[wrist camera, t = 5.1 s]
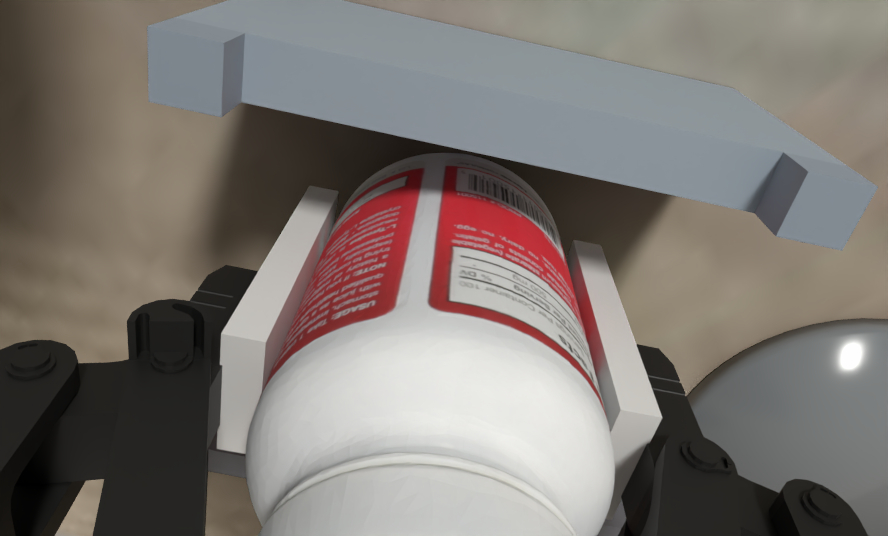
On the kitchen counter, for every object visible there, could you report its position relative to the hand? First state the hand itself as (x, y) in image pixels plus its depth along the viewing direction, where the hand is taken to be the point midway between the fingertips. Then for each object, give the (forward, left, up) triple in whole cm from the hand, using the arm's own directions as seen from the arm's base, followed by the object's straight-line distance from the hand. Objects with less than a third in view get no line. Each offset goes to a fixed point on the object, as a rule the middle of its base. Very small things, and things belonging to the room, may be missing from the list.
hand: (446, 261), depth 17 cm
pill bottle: (0, 0, -1) cm, 1 cm away
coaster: (+14, -5, -2) cm, 16 cm away
